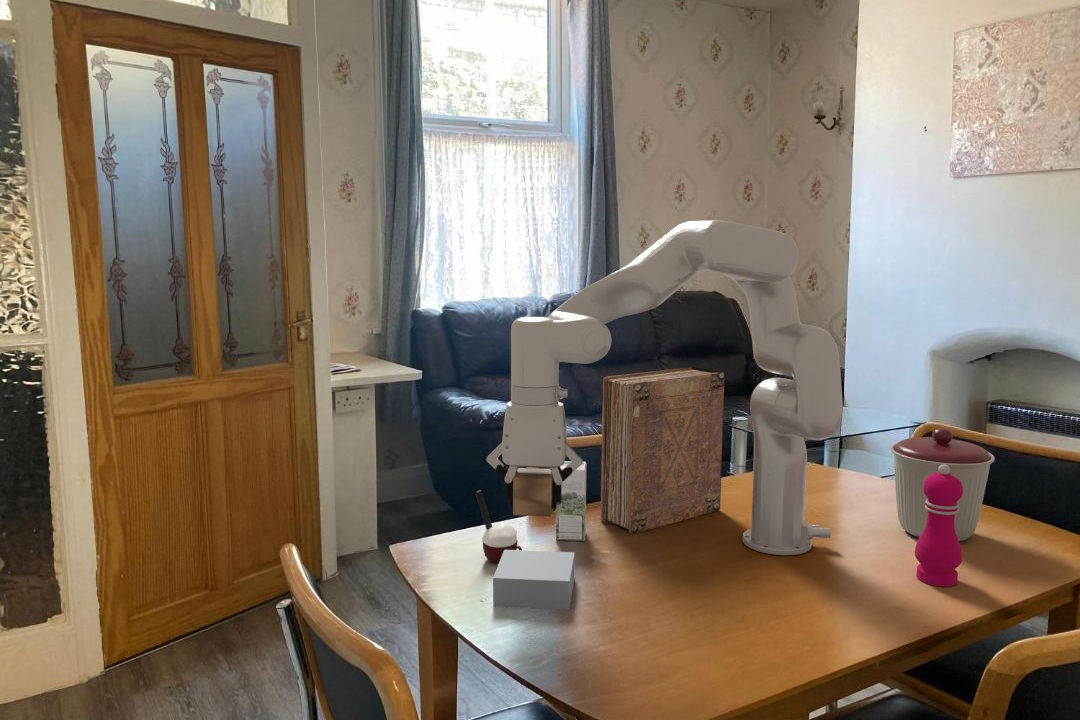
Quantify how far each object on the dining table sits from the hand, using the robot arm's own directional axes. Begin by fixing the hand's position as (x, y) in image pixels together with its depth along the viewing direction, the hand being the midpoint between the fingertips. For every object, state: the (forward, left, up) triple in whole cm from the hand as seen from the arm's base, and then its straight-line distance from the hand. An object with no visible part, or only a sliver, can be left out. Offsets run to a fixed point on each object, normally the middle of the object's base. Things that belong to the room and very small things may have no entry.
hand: (534, 504), depth 131 cm
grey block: (0, 0, -15) cm, 15 cm away
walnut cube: (0, 0, -1) cm, 1 cm away
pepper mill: (-67, -12, -15) cm, 70 cm away
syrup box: (-4, -26, -15) cm, 30 cm away
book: (-22, -40, -15) cm, 48 cm away
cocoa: (+8, -13, -15) cm, 21 cm away
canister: (-75, -35, -15) cm, 84 cm away
